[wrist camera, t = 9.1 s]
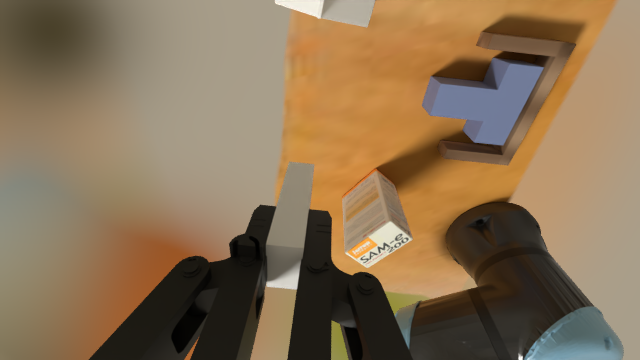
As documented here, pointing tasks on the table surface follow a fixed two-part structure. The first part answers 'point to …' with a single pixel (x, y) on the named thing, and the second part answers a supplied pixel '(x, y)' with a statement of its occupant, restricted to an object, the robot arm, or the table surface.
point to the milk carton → (334, 9)
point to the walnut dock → (553, 61)
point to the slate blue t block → (484, 99)
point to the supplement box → (373, 220)
